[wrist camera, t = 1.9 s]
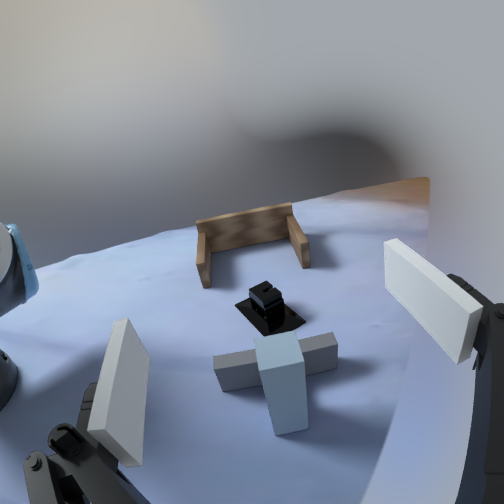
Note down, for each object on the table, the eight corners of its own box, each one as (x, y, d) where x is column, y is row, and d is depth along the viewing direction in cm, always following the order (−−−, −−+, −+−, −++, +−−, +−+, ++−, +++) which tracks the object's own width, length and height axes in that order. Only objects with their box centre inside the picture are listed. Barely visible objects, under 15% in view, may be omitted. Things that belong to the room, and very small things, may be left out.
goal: (203, 288, 55) (193, 253, 52) (204, 251, 67) (196, 220, 63) (310, 266, 56) (307, 231, 52) (293, 233, 67) (290, 202, 63)
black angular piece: (316, 328, 44) (316, 301, 41) (271, 355, 41) (266, 329, 39) (266, 285, 54) (262, 261, 52) (225, 305, 51) (219, 281, 49)
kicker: (226, 443, 30) (193, 381, 24) (222, 379, 38) (195, 307, 32) (355, 416, 30) (366, 345, 24) (332, 356, 38) (332, 280, 32)
